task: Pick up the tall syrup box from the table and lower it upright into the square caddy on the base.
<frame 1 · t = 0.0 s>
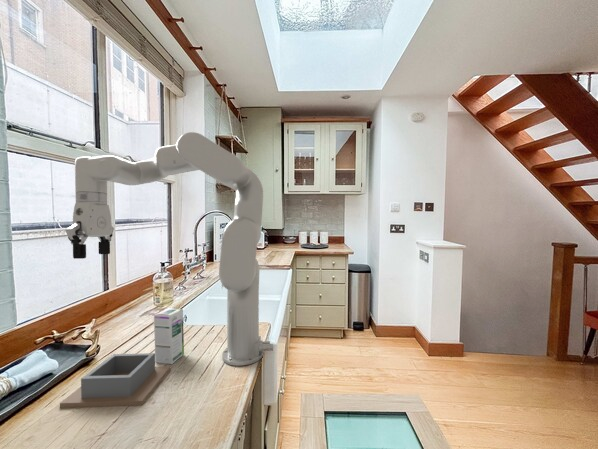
hand: (92, 256, 78), 31 cm above the table, tool pointing down, fingers open, 9 cm apart
syrup box: (169, 359, 78), on the table
caddy: (121, 386, 65), on the table
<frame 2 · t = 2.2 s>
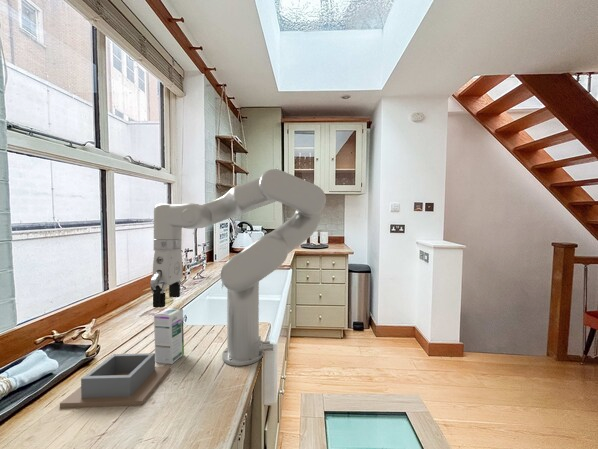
hand: (167, 301, 78), 17 cm above the table, tool pointing down, fingers open, 9 cm apart
nothing on the table moved.
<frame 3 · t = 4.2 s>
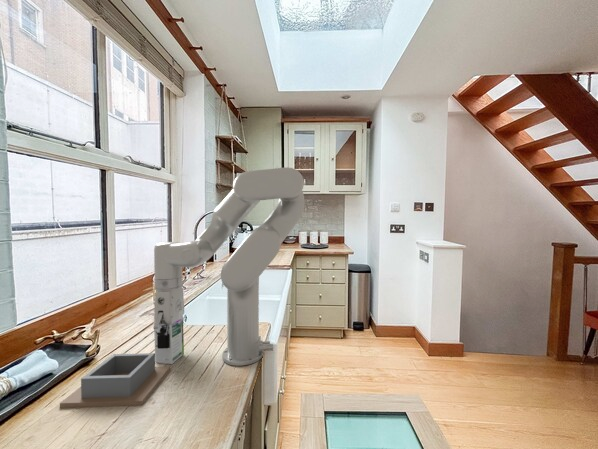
hand: (169, 341, 78), 5 cm above the table, tool pointing down, fingers closed on syrup box, 6 cm apart
syrup box: (169, 359, 78), on the table, touching gripper
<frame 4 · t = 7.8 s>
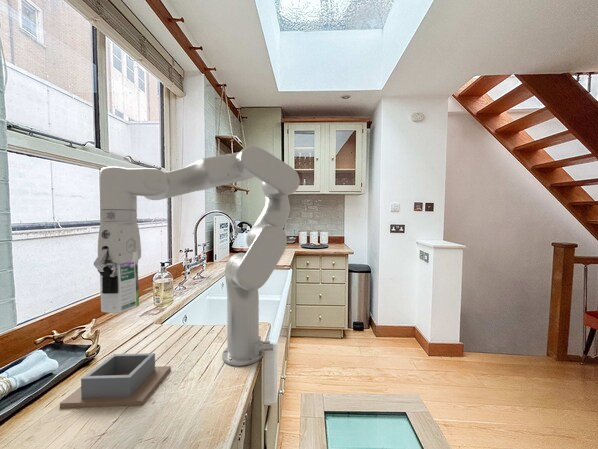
hand: (120, 288, 65), 25 cm above the table, tool pointing down, fingers closed on syrup box, 6 cm apart
syrup box: (120, 309, 65), point 19 cm above the table, touching gripper
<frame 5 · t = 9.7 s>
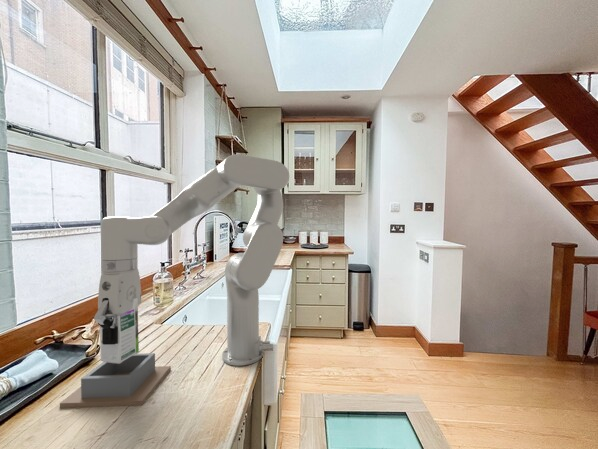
hand: (120, 336, 65), 13 cm above the table, tool pointing down, fingers closed on syrup box, 6 cm apart
syrup box: (119, 357, 65), point 7 cm above the table, touching gripper
when the fingers open (8 cm above the table, at t = 11.3 s): syrup box drops 1 cm, resting on caddy.
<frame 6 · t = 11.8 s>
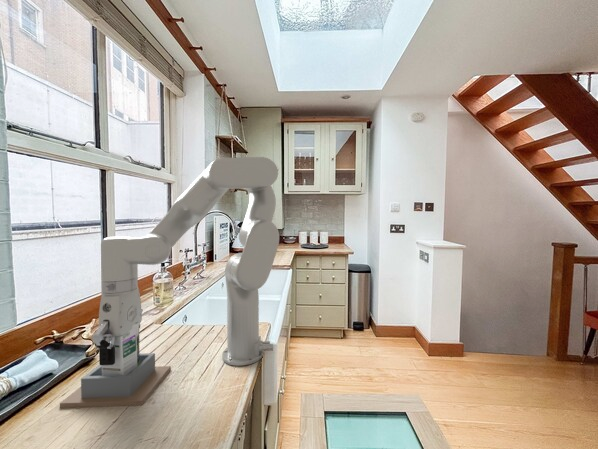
hand: (121, 353, 65), 8 cm above the table, tool pointing down, fingers open, 9 cm apart
syrup box: (121, 383, 65), point 1 cm above the table, touching caddy
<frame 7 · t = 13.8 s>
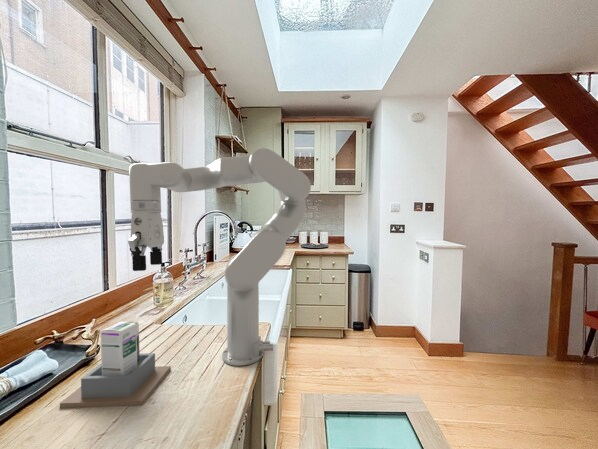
hand: (148, 267, 74), 28 cm above the table, tool pointing down, fingers open, 9 cm apart
nothing on the table moved.
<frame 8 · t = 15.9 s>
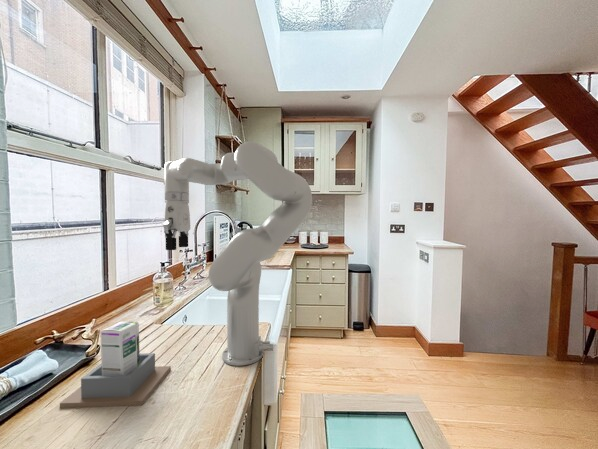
hand: (177, 248, 89), 32 cm above the table, tool pointing down, fingers open, 9 cm apart
nothing on the table moved.
at the end: syrup box 0.1 cm off-centre on the caddy, point 0.8 cm above the caddy's base; syrup box tilted 0°; the gripper is holding nothing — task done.
